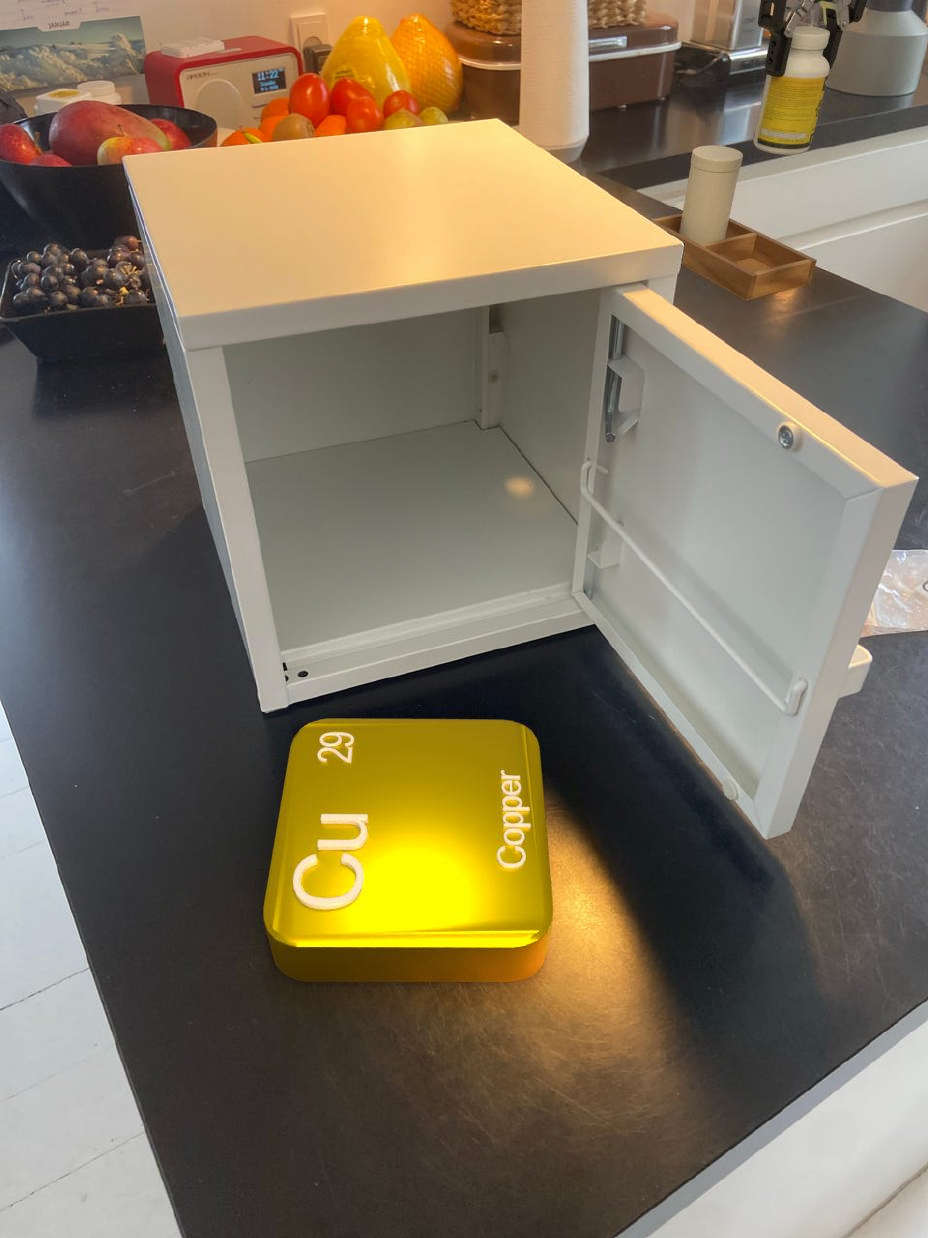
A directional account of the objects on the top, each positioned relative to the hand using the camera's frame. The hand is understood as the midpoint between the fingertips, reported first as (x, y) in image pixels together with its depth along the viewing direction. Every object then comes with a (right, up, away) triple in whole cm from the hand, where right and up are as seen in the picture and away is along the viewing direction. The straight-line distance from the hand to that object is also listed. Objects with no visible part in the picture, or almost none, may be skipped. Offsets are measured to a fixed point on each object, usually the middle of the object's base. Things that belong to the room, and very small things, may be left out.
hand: (798, 71), depth 100 cm
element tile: (-40, -74, -46) cm, 96 cm away
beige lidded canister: (-5, -11, +22) cm, 25 cm away
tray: (-3, -14, +19) cm, 24 cm away
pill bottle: (0, -6, +5) cm, 8 cm away
